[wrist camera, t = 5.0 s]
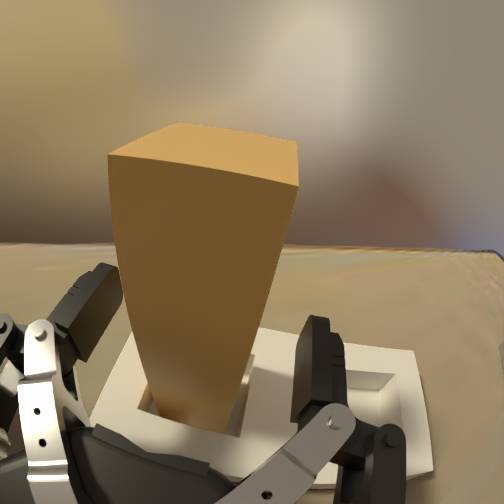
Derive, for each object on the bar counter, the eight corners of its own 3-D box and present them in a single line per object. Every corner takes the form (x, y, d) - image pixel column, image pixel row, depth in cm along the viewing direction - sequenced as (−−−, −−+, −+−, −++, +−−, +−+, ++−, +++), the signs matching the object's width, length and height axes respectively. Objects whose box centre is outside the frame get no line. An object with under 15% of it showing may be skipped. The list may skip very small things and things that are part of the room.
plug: (159, 416, 14) (107, 154, 5) (177, 365, 17) (177, 122, 8) (224, 433, 14) (298, 186, 5) (235, 380, 17) (297, 142, 8)
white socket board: (102, 440, 12) (86, 426, 10) (153, 325, 20) (149, 299, 18) (405, 480, 11) (433, 470, 9) (394, 371, 19) (413, 350, 18)
